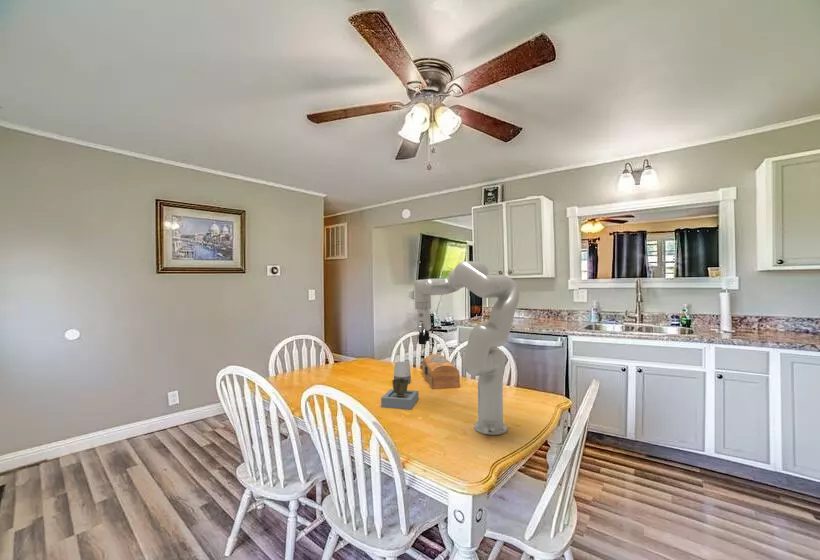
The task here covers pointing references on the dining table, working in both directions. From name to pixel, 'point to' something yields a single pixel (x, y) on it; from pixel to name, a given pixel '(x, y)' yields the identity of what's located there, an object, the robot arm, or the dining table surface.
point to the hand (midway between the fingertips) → (424, 342)
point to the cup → (400, 386)
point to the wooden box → (440, 372)
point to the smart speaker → (402, 370)
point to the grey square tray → (399, 400)
